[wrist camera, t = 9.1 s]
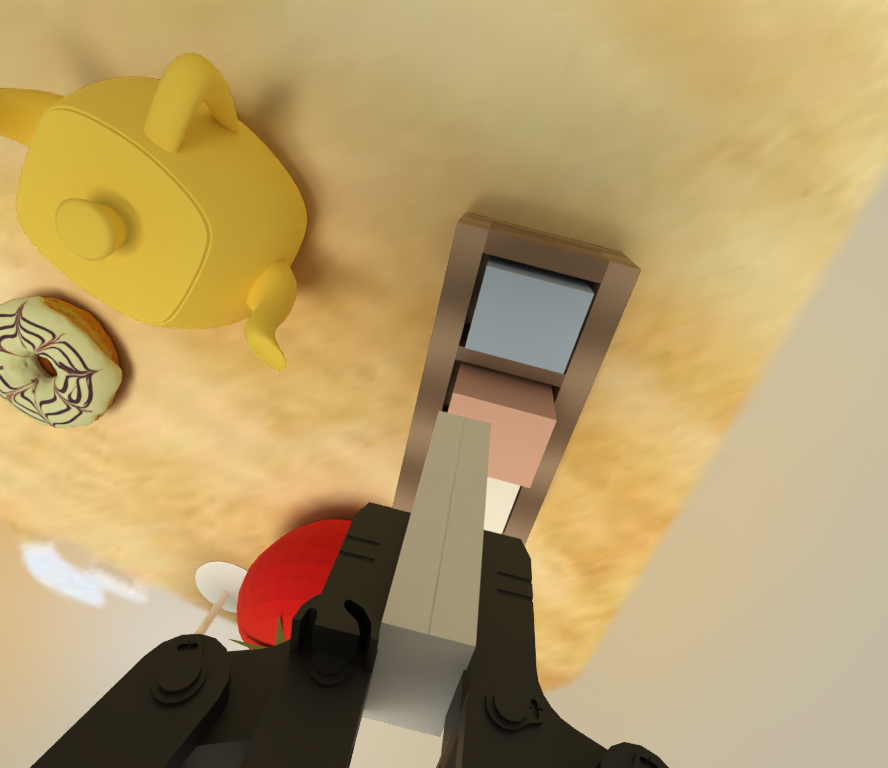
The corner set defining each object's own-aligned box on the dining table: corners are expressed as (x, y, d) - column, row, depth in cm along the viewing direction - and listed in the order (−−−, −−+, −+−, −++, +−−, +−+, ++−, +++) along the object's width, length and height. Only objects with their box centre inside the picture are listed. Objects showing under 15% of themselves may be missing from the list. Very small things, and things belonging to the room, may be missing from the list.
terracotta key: (462, 357, 30) (452, 392, 25) (550, 380, 30) (556, 420, 25) (445, 419, 32) (434, 462, 28) (527, 441, 32) (529, 488, 27)
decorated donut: (156, 364, 38) (122, 384, 34) (95, 431, 42) (58, 456, 39) (45, 264, 35) (-5, 275, 32) (-9, 346, 39) (-58, 364, 36)
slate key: (491, 249, 29) (487, 265, 25) (582, 272, 29) (594, 293, 24) (472, 320, 31) (464, 347, 27) (556, 342, 31) (563, 373, 27)
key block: (466, 212, 29) (457, 222, 25) (621, 252, 29) (641, 269, 25) (405, 472, 39) (390, 513, 34) (521, 504, 39) (522, 550, 34)
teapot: (423, 207, 30) (379, 231, 20) (302, 372, 36) (224, 450, 26) (111, -65, 26) (-133, -199, 16) (38, 175, 32) (-167, 183, 22)
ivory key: (444, 422, 35) (434, 460, 30) (520, 442, 35) (520, 484, 30) (431, 472, 37) (420, 515, 33) (502, 491, 37) (500, 537, 33)
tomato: (441, 556, 42) (417, 682, 32) (345, 614, 48) (299, 738, 38) (341, 468, 40) (280, 576, 29) (251, 541, 45) (174, 653, 35)
